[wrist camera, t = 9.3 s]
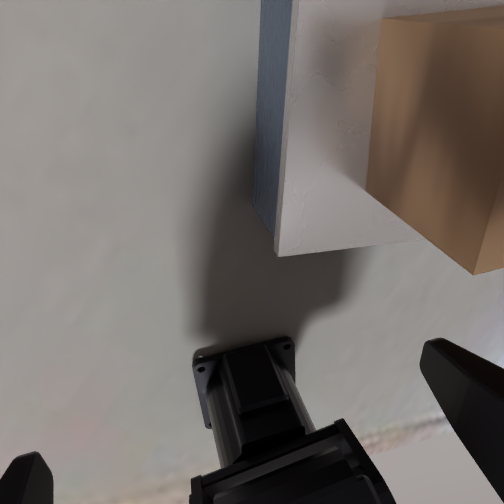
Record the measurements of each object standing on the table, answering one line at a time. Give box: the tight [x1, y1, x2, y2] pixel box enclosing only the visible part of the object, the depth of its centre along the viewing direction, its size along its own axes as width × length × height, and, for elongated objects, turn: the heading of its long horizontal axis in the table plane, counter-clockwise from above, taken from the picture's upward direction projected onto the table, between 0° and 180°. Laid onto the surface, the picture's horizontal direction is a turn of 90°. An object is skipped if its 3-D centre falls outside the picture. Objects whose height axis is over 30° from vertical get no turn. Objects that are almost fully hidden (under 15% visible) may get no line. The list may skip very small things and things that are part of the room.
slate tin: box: [253, 0, 504, 257], centre depth 17 cm, size 12×12×5 cm
